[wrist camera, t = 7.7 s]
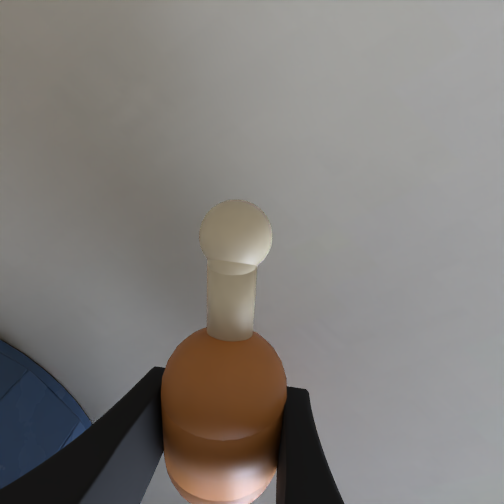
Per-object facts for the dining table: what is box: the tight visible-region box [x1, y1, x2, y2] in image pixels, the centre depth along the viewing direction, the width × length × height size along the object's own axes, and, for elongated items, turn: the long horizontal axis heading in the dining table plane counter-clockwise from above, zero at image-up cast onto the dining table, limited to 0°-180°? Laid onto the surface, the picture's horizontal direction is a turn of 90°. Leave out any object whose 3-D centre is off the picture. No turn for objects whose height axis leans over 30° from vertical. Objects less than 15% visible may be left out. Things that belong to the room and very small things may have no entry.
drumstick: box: [161, 200, 287, 504], centre depth 12 cm, size 10×4×4 cm, turn 177°
